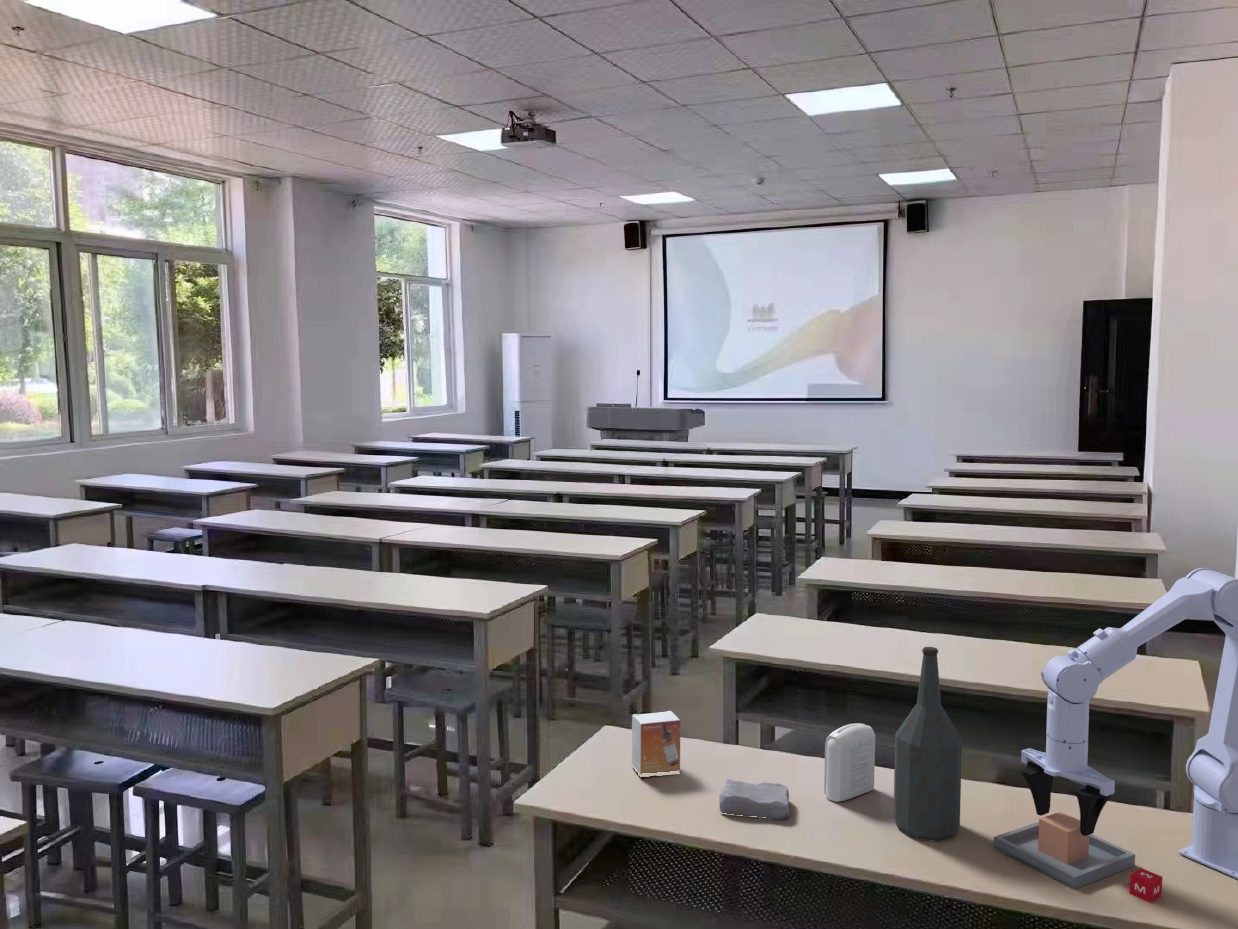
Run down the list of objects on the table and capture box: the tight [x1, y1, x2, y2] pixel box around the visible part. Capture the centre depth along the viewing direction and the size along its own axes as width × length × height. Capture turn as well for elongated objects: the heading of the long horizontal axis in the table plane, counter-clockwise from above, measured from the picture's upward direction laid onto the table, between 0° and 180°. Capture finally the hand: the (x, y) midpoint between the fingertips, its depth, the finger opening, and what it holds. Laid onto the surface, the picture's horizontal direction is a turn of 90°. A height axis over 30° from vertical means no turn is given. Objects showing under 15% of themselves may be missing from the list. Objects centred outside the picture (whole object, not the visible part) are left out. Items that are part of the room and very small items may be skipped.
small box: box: [631, 710, 681, 774], centre depth 177 cm, size 8×6×10 cm
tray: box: [993, 821, 1136, 890], centre depth 145 cm, size 14×14×2 cm
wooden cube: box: [1038, 811, 1089, 864], centre depth 145 cm, size 5×5×5 cm
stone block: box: [718, 779, 790, 820], centre depth 163 cm, size 12×5×10 cm
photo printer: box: [823, 722, 876, 803], centre depth 167 cm, size 10×4×12 cm, turn 126°
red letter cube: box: [1128, 867, 1163, 904], centre depth 134 cm, size 3×3×3 cm
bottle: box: [893, 646, 963, 842], centre depth 153 cm, size 10×10×30 cm
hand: (1064, 823), depth 144 cm, fingers open, 7 cm apart
